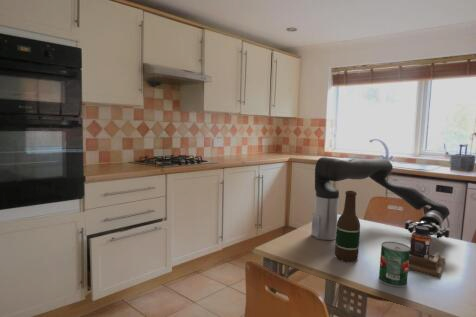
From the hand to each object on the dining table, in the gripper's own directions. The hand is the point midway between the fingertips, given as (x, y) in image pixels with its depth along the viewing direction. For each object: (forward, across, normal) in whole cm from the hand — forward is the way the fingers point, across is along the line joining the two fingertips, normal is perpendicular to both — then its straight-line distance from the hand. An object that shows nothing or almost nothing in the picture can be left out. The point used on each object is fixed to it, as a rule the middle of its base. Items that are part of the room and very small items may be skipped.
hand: (424, 232), depth 118 cm
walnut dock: (+6, 0, +10) cm, 11 cm away
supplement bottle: (+6, 0, +8) cm, 10 cm away
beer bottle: (+19, -21, +10) cm, 30 cm away
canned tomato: (+27, -4, +10) cm, 29 cm away
